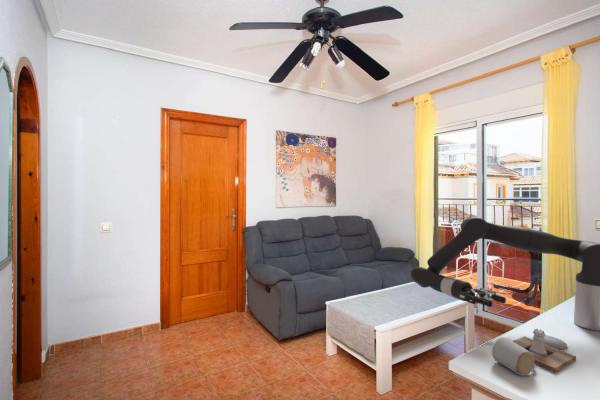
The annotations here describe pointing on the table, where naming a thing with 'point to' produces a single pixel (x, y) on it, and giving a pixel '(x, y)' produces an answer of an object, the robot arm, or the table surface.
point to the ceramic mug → (513, 356)
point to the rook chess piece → (538, 343)
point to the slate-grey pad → (554, 342)
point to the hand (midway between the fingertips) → (498, 302)
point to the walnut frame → (553, 361)
